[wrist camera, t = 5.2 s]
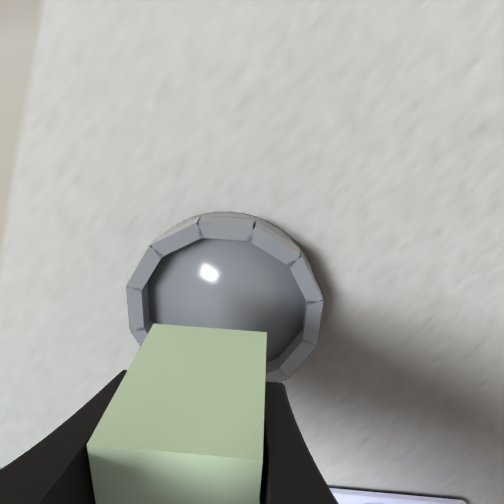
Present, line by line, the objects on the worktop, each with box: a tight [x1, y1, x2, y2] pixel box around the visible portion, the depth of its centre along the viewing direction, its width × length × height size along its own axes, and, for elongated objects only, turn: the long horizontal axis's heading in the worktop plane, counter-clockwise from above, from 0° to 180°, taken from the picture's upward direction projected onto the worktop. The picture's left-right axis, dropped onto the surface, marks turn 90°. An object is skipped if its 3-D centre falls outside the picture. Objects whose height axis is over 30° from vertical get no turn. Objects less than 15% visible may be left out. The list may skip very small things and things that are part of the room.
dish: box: [126, 212, 323, 382], centre depth 18 cm, size 9×9×2 cm
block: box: [87, 324, 267, 504], centre depth 11 cm, size 4×4×5 cm
